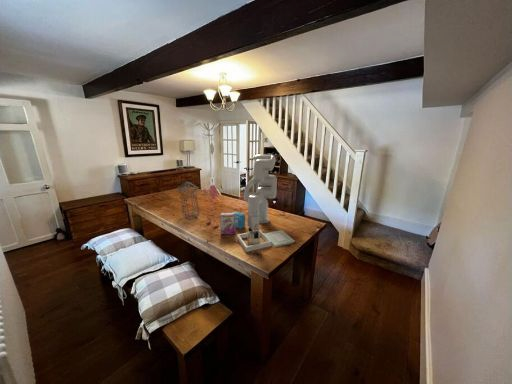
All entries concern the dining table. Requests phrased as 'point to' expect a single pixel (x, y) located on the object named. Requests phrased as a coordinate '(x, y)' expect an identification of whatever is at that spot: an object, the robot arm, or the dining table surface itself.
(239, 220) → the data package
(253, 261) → the dining table surface
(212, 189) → the figurine
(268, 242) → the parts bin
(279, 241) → the sage board
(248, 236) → the beech box
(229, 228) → the candy bar box
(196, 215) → the geometric lantern
